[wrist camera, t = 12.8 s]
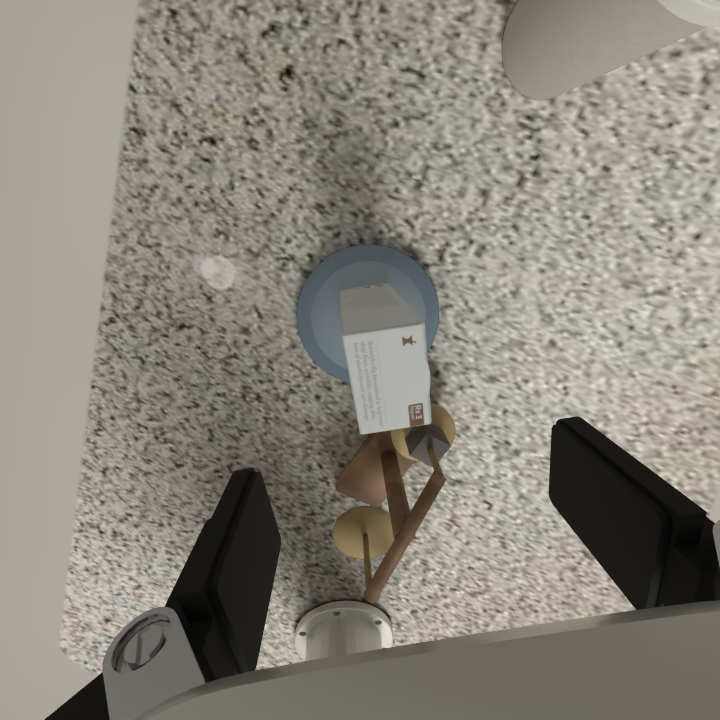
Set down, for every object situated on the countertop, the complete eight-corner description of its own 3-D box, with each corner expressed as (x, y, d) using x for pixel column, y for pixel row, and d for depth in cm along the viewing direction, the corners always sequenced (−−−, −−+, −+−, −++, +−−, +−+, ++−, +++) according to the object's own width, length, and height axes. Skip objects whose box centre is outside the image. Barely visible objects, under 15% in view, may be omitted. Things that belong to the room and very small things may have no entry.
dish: (440, 369, 32) (443, 373, 31) (313, 389, 32) (312, 394, 31) (430, 233, 27) (434, 233, 26) (284, 256, 27) (281, 258, 26)
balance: (369, 512, 37) (382, 637, 26) (325, 492, 36) (317, 615, 25) (454, 403, 33) (514, 495, 21) (407, 376, 32) (444, 459, 20)
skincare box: (337, 289, 27) (332, 330, 16) (392, 281, 27) (426, 316, 16) (349, 359, 30) (352, 439, 18) (399, 352, 30) (434, 426, 18)
